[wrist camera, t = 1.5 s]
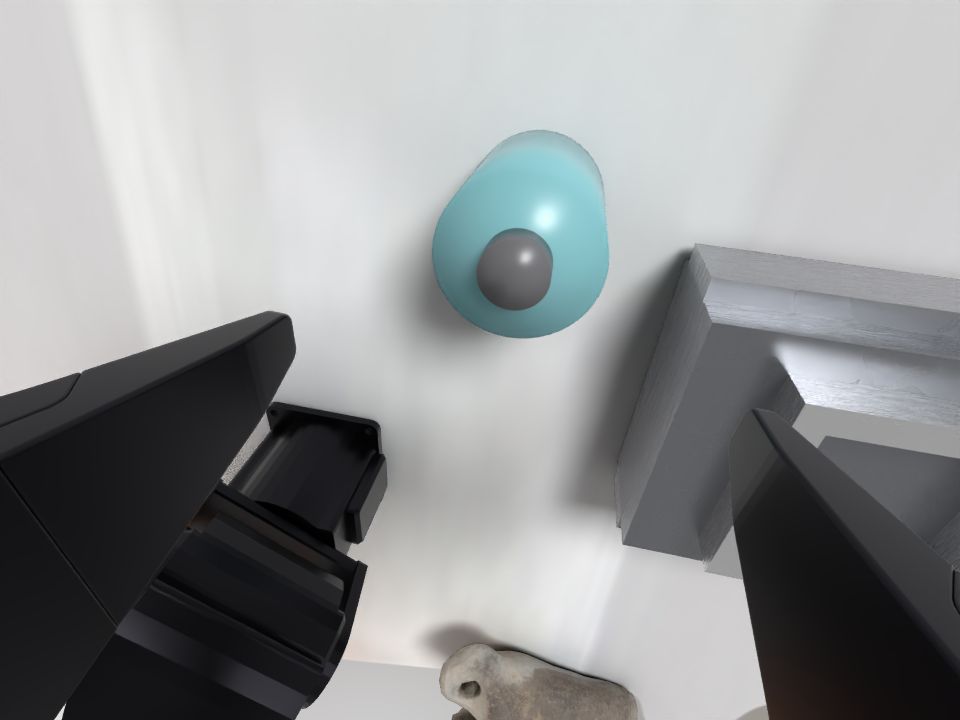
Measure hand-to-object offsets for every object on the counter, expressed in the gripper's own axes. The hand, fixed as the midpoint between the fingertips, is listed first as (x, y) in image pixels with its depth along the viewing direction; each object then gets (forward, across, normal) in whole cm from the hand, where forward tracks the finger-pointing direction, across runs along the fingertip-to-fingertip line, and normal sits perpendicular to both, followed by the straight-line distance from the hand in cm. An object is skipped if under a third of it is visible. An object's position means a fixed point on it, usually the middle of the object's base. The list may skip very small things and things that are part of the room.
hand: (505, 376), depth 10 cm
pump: (+11, +1, 0) cm, 11 cm away
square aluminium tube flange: (+11, -13, +7) cm, 18 cm away
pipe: (+11, -6, +38) cm, 40 cm away
